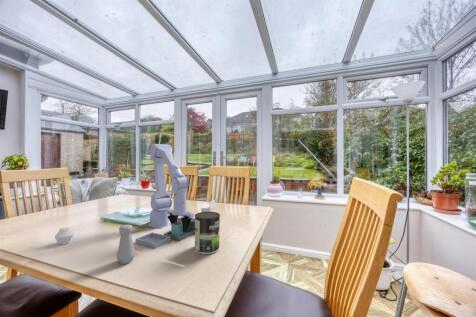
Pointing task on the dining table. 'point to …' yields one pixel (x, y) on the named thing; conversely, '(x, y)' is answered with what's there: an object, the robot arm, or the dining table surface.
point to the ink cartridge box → (209, 207)
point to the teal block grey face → (177, 229)
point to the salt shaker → (125, 245)
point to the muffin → (64, 236)
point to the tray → (153, 240)
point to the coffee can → (207, 232)
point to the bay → (190, 232)
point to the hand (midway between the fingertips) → (179, 230)
